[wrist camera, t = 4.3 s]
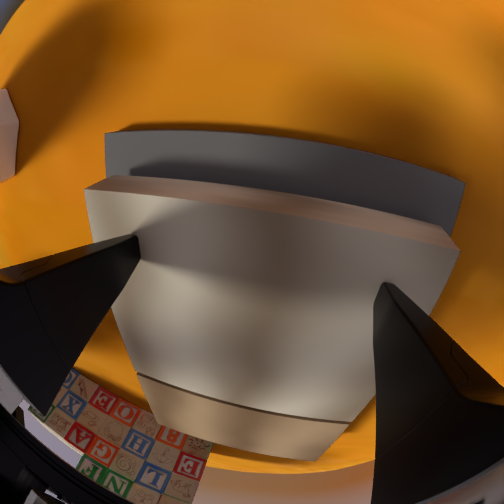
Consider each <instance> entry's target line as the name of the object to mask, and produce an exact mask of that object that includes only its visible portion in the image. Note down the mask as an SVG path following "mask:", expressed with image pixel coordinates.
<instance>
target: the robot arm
mask: <svg viewBox="0 0 504 504" xmlns="http://www.w3.org/2000/svg"><path fill="white" fill-rule="evenodd" d="M140 259H141V253H140V247H139V240H138V237H137V236H136V235H131V234H127V235H123V236H119V237H115V238H111V239H108V240H104V241H100V242H96V243H93V244H89V245H85V246H82V247H78V248H74V249H71V250H67V251H64V252H60V253H57V254H54V255H50V256H47V257H43V258H40V259H36V260H33V261H29V262H25V263H22V264H18V265H14V266H10V267H7V268H3V269H0V504H65V503H67V504H136V503H133V502H131V501H129V500H127V499H125V498H123V497H122V496H120V495H118V494H116V493H114V492H112V491H110V490H109V489H107V488H105V487H103V486H102V485H100V484H98V483H97V482H95V481H94V480H92V479H90V478H89V477H87V476H86V475H84V474H83V473H81V472H80V471H78V470H77V469H75V468H74V467H72V466H71V465H70V464H68V463H67V462H65V461H64V460H63V459H61V458H60V457H59V456H58V455H56V454H55V453H54V452H52V451H51V450H50V449H49V448H47V447H46V446H45V445H44V444H43V443H41V442H40V441H39V440H38V439H37V438H36V437H35V436H33V435H32V434H31V433H30V432H29V431H28V430H27V429H26V428H25V424H24V412H23V410H22V409H21V408H20V407H19V406H18V405H19V404H20V402H21V401H22V400H23V399H24V400H26V402H28V403H29V404H30V405H31V406H32V407H33V408H34V409H36V410H37V411H38V412H39V413H40V414H41V415H43V416H44V417H45V416H46V415H47V413H48V411H49V409H50V407H51V405H52V404H53V402H54V400H55V398H56V396H57V394H58V392H59V390H60V389H61V387H62V385H63V383H64V381H65V380H66V378H67V376H68V374H69V372H70V371H71V369H72V367H73V366H74V364H75V362H76V361H77V359H78V357H79V356H80V354H81V352H82V351H83V349H84V347H85V346H86V344H87V343H88V341H89V339H90V338H91V336H92V335H93V333H94V332H95V330H96V329H97V327H98V326H99V324H100V323H101V321H102V319H103V318H104V316H105V315H106V314H107V312H108V311H109V309H110V308H111V306H112V305H113V303H114V302H115V300H116V299H117V298H118V296H119V295H120V293H121V292H122V290H123V289H124V287H125V285H126V284H127V282H128V280H129V278H130V277H131V275H132V273H133V272H134V270H135V268H136V266H137V265H138V263H139V261H140ZM373 354H374V368H375V387H376V449H375V458H376V459H375V465H374V478H373V489H372V498H371V504H504V387H502V386H501V385H500V384H499V383H498V382H497V381H496V380H495V379H494V378H493V377H492V376H491V375H490V374H489V373H487V372H486V371H485V370H484V369H483V368H482V367H481V366H480V365H479V364H478V363H477V362H476V361H475V360H474V359H472V358H471V357H470V356H469V355H468V354H467V353H466V352H465V351H464V350H463V349H462V348H461V347H460V346H459V345H458V344H457V343H456V342H455V341H454V340H452V338H451V337H450V336H449V335H448V334H447V333H446V332H445V331H444V330H443V329H442V328H441V327H440V326H439V325H438V324H437V323H436V322H435V321H434V320H433V319H432V318H431V317H430V316H429V315H427V314H426V313H425V312H424V311H423V310H422V309H421V308H420V307H419V306H418V305H417V304H416V303H415V302H413V301H412V300H411V299H410V298H409V297H408V296H407V295H406V294H405V293H403V292H402V291H401V290H400V289H399V288H398V287H397V286H396V285H394V284H393V283H388V282H383V283H382V284H381V286H380V288H379V291H378V293H377V296H376V298H375V301H374V304H373ZM46 489H47V490H49V491H50V492H52V493H54V494H55V495H57V498H58V499H59V500H58V499H56V498H54V497H52V496H50V495H48V494H46V493H44V492H45V491H46ZM60 500H61V501H60ZM62 501H63V502H62ZM64 502H65V503H64Z"/></svg>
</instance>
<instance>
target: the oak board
mask: <svg viewBox="0 0 504 504" xmlns="http://www.w3.org/2000/svg"><path fill="white" fill-rule="evenodd" d="M137 377H138V379H139V382H140V384H141V387H142V389H143V392H144V394H145V396H146V399H147V401H148V403H149V406H150V408H151V410H152V412H153V414H154V417H155V419H156V421H157V423H158V424H161V425H163V426H166V427H168V428H171V429H174V430H176V431H179V432H182V433H185V434H188V435H191V436H194V437H197V438H200V439H203V440H207V441H210V442H214V443H217V444H221V445H225V446H228V447H232V448H237V449H241V450H245V451H250V452H254V453H259V454H265V455H270V456H276V457H282V458H289V459H297V460H306V461H316V460H317V459H318V458H319V457H320V456H321V455H322V454H323V453H324V452H325V451H326V450H327V449H328V448H329V447H330V446H331V445H332V444H333V443H334V442H335V440H336V439H337V438H338V437H339V436H340V435H341V434H342V433H343V432H344V430H345V429H346V428H347V427H348V426H349V425H350V422H347V421H335V420H325V419H316V418H309V417H301V416H295V415H288V414H283V413H277V412H272V411H266V410H261V409H257V408H252V407H248V406H243V405H239V404H235V403H231V402H227V401H223V400H220V399H216V398H212V397H209V396H205V395H202V394H199V393H195V392H192V391H189V390H186V389H183V388H180V387H177V386H174V385H171V384H168V383H166V382H163V381H160V380H157V379H155V378H152V377H149V376H147V375H144V374H142V373H139V372H138V373H137Z"/></svg>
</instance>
